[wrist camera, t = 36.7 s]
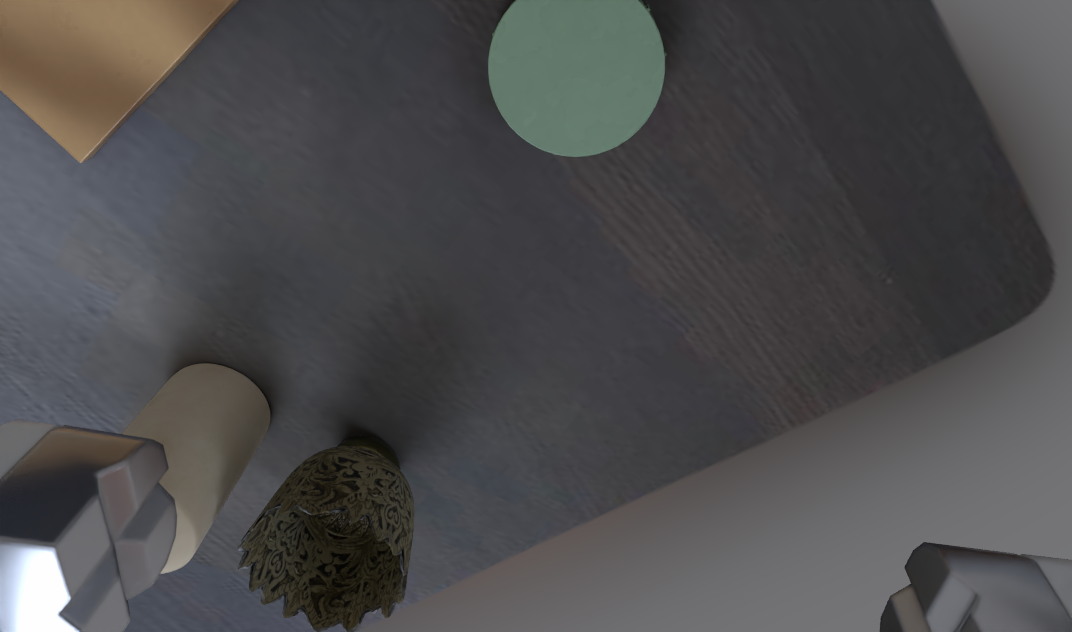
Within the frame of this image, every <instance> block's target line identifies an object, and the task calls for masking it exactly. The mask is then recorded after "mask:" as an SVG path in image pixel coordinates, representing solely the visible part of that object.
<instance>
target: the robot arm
mask: <svg viewBox="0 0 1072 632" xmlns="http://www.w3.org/2000/svg"><path fill="white" fill-rule="evenodd" d="M168 468H169V467H168V463H167V459H166V454H165V450H164V446H163V444H161V443H159V442H157V441H155V440H153V439H148V438H142V437H136V436H130V435H123V434H117V433H111V432H104V431H98V430H92V429H86V428H79V427H73V426H67V425H64V426H59V425H53V424H47V423H41V422H35V421H29V420H23V419H17V420H14V421H11V422H8V423H5V424H2V425H1V426H0V632H123V631H124V630H125V628H126V626H127V625H128V623H129V622H130V620H131V618H130V612H129V606H128V600H129V599H131V598H132V597H134V596H136V595H137V594H139V593H141V592H142V591H144V590H146V589H147V588H149V587H151V586H152V585H154V583H155V581H156V580H157V578H158V576H159V575H160V573H161V572H162V570H163V568H164V567H165V565H166V563H167V561H168V558H169V555H170V552H171V549H172V546H173V543H174V540H175V537H176V528H177V511H176V505H175V499H174V498H173V497H172V496H171V495H170V494H169V493H168V492H167V491H166V490H165V488H164V487H163V486H162V485H161V484H160V483H159V481H160V479H161V478H162V477H163V475H164V474H165V473H166V471H167V470H168ZM905 570H906V572H907V575H908V577H909V579H910V582H911V584H910V585H908V586H907V587H905V588H903V589H901V590H900V591H898V592H896V593H894V594H893V595H891V596H890V598H889V600H888V602H887V605H886V607H885V609H884V612H883V614H882V616H881V622H880V632H1072V560H1068V559H1059V558H1051V557H1042V556H1034V555H1026V554H1021V555H1017V554H1013V553H1006V552H998V551H989V550H982V549H974V548H966V547H958V546H950V545H942V544H934V543H926V542H924V543H922V544H921V545H920V546H918V547H917V548H916V549H915V550H913V552H912V554H911V556H910V558H909V559H908V561H907V564H906V565H905Z"/></svg>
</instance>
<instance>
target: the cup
mask: <svg viewBox="0 0 1072 632" xmlns="http://www.w3.org/2000/svg"><path fill="white" fill-rule="evenodd" d="M413 529H414V501H413V496H412V492H411V489H410V486H409V484H408V482H407V480H406V478H405V476H404V475H403V473H402V472H401V471H400V465H399V461H398V458H397V455H396V454H395V452H394V451H393V449H392V448H391V447H390V446H389V445H388V444H386V443H385V442H383V441H381V440H380V439H377V438H374V437H370V436H355V437H351V438H349V439H347V440H345V441H343V442H342V443H340V444H339V445H338V446H337V447H333V448H330V449H326V450H323V451H321V452H318V453H316V454H314V455H313V456H311V457H310V458H308V459H307V460H305V461H304V462H303V463H302V464H301V465H299V466H298V467H297V468H296V469H295V470H294V471H293V472H292V473H291V474H290V476H289V477H288V478H287V479H286V480H285V482H284V483H283V484H282V485H281V487H280V488H279V489H278V491H277V492H276V493H275V495H274V496H273V497H272V499H271V500H270V501H269V503H268V504H267V506H266V507H265V508H264V510H263V511H262V513H261V514H260V515H259V517H258V518H257V520H256V521H255V522H254V524H253V525H252V526H251V527H250V529H249V531H248V532H247V533H246V535H245V536H244V538H243V539H242V540H241V542H240V544H239V546H238V550H240V551H242V552H245V553H244V555H243V556H242V558H241V561H240V564H239V567H238V570H241V569H243V568H247V567H249V566H251V565H252V566H251V568H250V572H249V574H250V582H249V589H250V591H251V592H254V591H255V590H257V589H259V588H260V596H261V603H262V604H263V605H267V604H270V603H273V602H275V601H277V600H279V599H281V598H282V596H284V600H283V601H284V608H283V612H282V615H283V617H284V618H290V617H291V616H295V615H297V613H299V612H297V611H298V610H300V609H301V610H302V611H301V610H300V611H301V612H303V613H304V614H305V615H306V619H307V622H308V623H309V625H310V626H311V627H312V628H313V629H314V630H315V631H317V632H319V631H324V630H328V629H330V628H332V627H335V626H337V625H339V624H342V623H343V624H342V625H343V628H344V629H345V631H347V632H354V631H355V630H357V629H358V628H359V626H360V624H361V622H362V619H363V617H364V615H365V613H367V612H370V611H371V612H372V613H376V611H377V610H378V609H379V608H381V610H382V615H381V616H382V617H383V618H389V616H390V615H391V614H392V612H393V610H394V607H395V604H396V603H397V604H400V603H401V602H402V601H403V599H404V595H405V590H406V583H407V573H408V567H409V560H410V553H411V546H412V538H413Z"/></svg>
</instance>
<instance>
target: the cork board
mask: <svg viewBox="0 0 1072 632" xmlns="http://www.w3.org/2000/svg"><path fill="white" fill-rule="evenodd" d="M238 1H239V0H0V90H1V91H2V92H3V93H4V94H5V95H6V96H8V97H9V98H10V99H11V100H12V101H13V102H14V103H15V104H16V105H17V106H18V107H20V108H21V109H22V110H23V111H24V112H25V113H26V114H27V115H28V116H29V117H30V118H32V119H33V120H34V121H35V122H36V123H37V124H38V125H39V126H40V127H41V128H42V129H44V130H45V131H46V132H47V133H48V134H49V135H50V136H51V137H52V138H53V139H55V140H56V141H57V142H58V143H59V144H60V145H61V146H62V147H63V148H64V149H65V150H67V151H68V152H69V153H70V154H71V155H72V156H73V157H74V158H75V159H76V160H77V161H79V162H80V163H82V162H84V161H86V160H88V159H90V158H91V157H92V156H93V155H94V154H95V153H96V152H97V151H98V150H99V149H100V148H101V147H102V146H103V145H104V144H105V143H106V142H107V140H108V139H109V138H110V137H111V136H112V135H113V134H114V133H115V132H116V131H117V130H118V129H119V128H120V127H121V126H122V125H123V123H124V122H125V121H126V120H127V119H128V118H129V117H130V116H131V115H132V114H133V113H134V112H135V111H136V110H137V109H138V108H139V106H140V105H141V104H142V103H143V102H144V101H145V100H146V99H147V98H148V97H149V96H150V95H151V94H152V93H153V92H154V91H155V89H156V88H157V87H158V86H159V85H160V84H161V83H162V82H163V81H164V80H165V79H166V78H167V77H168V76H169V75H170V74H171V72H172V71H173V70H174V69H175V68H176V67H177V66H178V65H179V64H180V63H181V62H182V61H183V60H184V59H185V58H186V57H187V55H188V54H189V53H190V52H191V51H192V50H193V49H194V48H195V47H196V46H197V45H198V44H199V43H200V42H201V41H202V40H203V38H204V37H205V36H206V35H207V34H208V33H209V32H210V31H211V30H212V29H213V28H214V27H215V26H216V25H217V24H218V23H219V21H220V20H221V19H222V18H223V17H224V16H225V15H226V14H227V13H228V12H229V11H230V10H231V9H232V8H233V7H234V6H235V4H236V3H237V2H238Z"/></svg>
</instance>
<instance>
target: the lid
mask: <svg viewBox="0 0 1072 632" xmlns="http://www.w3.org/2000/svg"><path fill="white" fill-rule="evenodd" d="M650 10H651V9H650V7H649V5H648V4H647V5H645V4H644V2H643V1H642V0H514V1H513V3H512V4H511V5H510V7H509V8H508V9H507V11H506V12H505V13H504V15H503V16H502V18H501V20H500V22H499V24H498V25H497V28H496V29H495V30H494V32H493V33H492V36H493V38H492V42H491V45H490V50H489V57H488V76H489V84H490V88H491V92H492V95H493V98H494V100H495V103H496V106H497V107H498V109H499V111H500V113H501V115H502V116H503V118H504V119H505V121H506V122H507V123H508V125H509V126H510V127H511V128H512V129H513V130H514V131H515V132H516V133H517V134H518V135H519V136H520V137H522V138H523V139H524V140H525V141H527V142H529V143H530V144H532V145H533V146H535V147H537V148H539V149H541V150H544V151H546V152H550V153H553V154H557V155H562V156H572V157H580V156H589V155H594V154H599V153H602V152H605V151H608V150H610V149H612V148H614V147H616V146H618V145H620V144H621V143H623V142H625V141H626V140H628V139H629V138H630V137H631V136H632V135H634V134H635V133H636V132H637V131H638V130H639V129H640V128H641V127H642V126H643V124H644V123H645V122H646V121H647V119H648V118H649V116H650V115H651V113H652V111H653V110H654V108H655V106H656V104H657V102H658V99H659V96H660V94H661V90H662V86H663V82H664V74H665V56H666V52H665V49H664V48H663V43H662V39H661V36H660V33H659V30H658V27H657V25H656V23H655V20H654V18H653V16H652V14H651V13H650Z"/></svg>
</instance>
